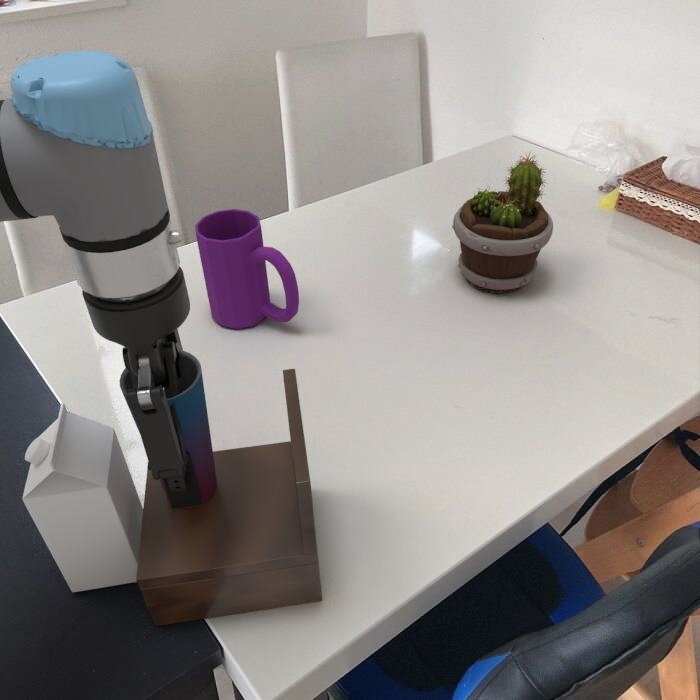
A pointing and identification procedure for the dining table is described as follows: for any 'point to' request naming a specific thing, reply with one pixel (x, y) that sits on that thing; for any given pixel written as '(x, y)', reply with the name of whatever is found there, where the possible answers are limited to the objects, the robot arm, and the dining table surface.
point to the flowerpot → (504, 231)
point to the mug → (242, 270)
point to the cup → (190, 421)
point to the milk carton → (84, 502)
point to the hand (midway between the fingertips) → (188, 475)
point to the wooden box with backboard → (235, 534)
